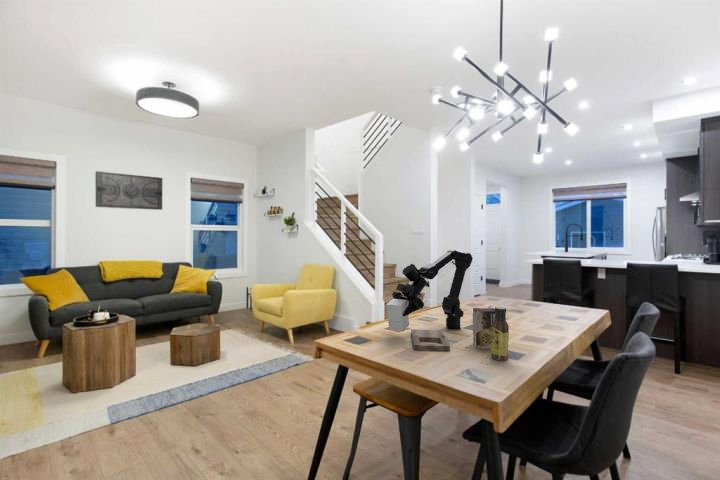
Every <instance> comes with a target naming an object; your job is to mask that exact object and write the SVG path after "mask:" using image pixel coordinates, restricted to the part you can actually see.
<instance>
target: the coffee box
mask: <svg viewBox="0 0 720 480" xmlns="http://www.w3.org/2000/svg"><path fill="white" fill-rule="evenodd" d="M494 320H495V308H494V307H473V308H472V345H473V346H474V348H475V349H478V350H491V330H492V323H493V322H494Z"/></svg>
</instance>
